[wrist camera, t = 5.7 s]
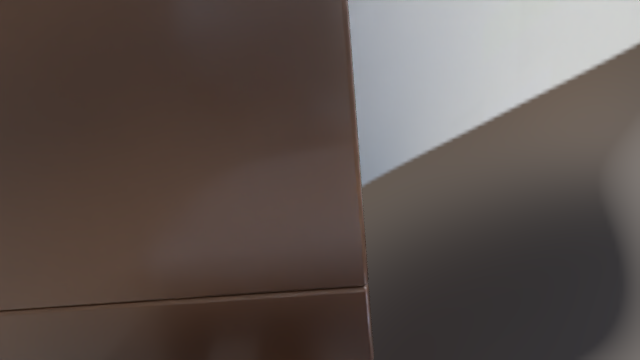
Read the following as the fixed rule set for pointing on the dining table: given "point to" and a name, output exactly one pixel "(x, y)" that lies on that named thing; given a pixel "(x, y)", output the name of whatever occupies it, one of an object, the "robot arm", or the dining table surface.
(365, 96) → the dining table surface
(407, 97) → the dining table surface
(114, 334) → the cabinet
